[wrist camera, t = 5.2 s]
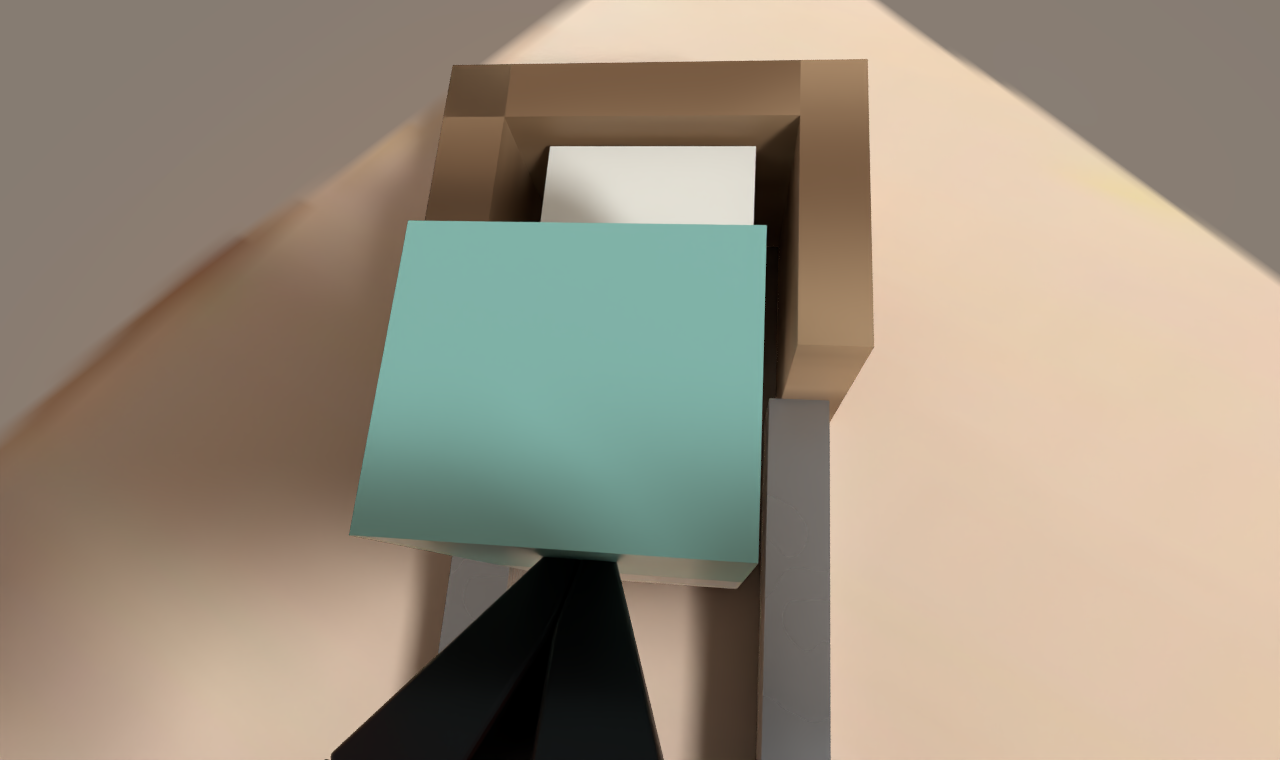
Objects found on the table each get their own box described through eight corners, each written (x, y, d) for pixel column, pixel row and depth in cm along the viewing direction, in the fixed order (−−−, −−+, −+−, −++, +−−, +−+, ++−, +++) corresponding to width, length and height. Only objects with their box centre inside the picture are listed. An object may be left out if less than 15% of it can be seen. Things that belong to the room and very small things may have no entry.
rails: (817, 1113, 13) (831, 1191, 11) (415, 1048, 14) (371, 1111, 12) (817, 422, 16) (829, 400, 15) (500, 408, 17) (476, 386, 16)
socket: (829, 422, 16) (874, 346, 12) (490, 407, 17) (404, 331, 13) (828, 203, 18) (867, 59, 13) (519, 201, 19) (452, 64, 14)
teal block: (736, 589, 15) (758, 563, 7) (550, 575, 16) (348, 534, 7) (748, 246, 18) (775, -98, 9) (586, 243, 18) (465, -86, 10)
